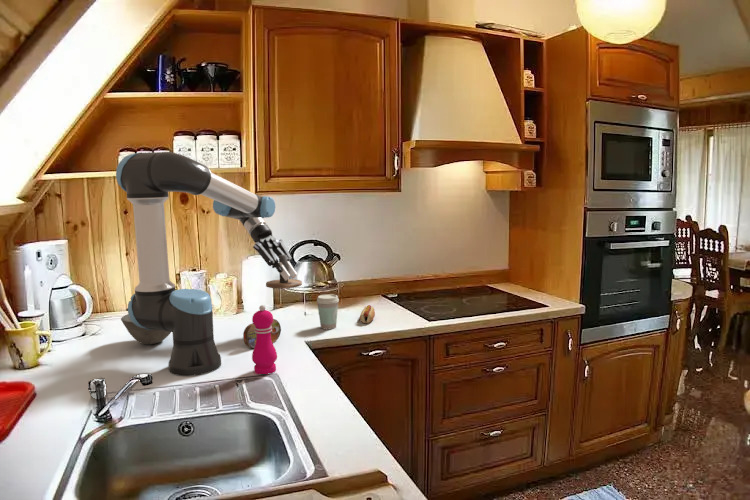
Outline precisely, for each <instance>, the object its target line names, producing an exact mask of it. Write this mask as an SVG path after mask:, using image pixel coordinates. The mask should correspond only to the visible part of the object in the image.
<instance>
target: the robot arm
mask: <svg viewBox="0 0 750 500" xmlns="http://www.w3.org/2000/svg"><path fill="white" fill-rule="evenodd" d="M115 177H116V178H115V179H116V182H117V184H118V186H120V188H121V189H122V190H123V191H124V192H125V193H126V194H125V195H126V200H127V201H129V202H130V204H132V208H133V209H132V210H133V218H134V220H133V221H134V231H135V243H136V245H135V246H136V257H137V268H138V279H139V281H138V284H137V286H135V287H134V293H133V294H132V296H131V297H130V300H129V301H128V303H127V314H129V317H130V319H131V321H132V322H133V323H134V324H135V325H136V326H138V327H141V328H145V329H147V330H159V331H167V332H171V333H172V342H173V345H172V348H171V353H170V359H169V360H168V372H169V373H170V374H172V375H175V376H180V377H181V376H183V377H185V376H188V377H190V376H198V375H204V374H207V373H210V372H214V371H216V370H217V369H219V368H220V367H221V366H222V357H221V354H220V353H219V351H218V348H217V345H216V342H215V339H214V336H215V335H214V317H213V315H214V314H213V303H212V298H211V295H210V294H209V293H208V292H207V291H205V290H202V289H197V288H191V289H189V288H182V289H181V288H180V289H176V285H175V284H174V282H172V281H171V280H170V279H171V278H170V268H169V266H170V265H169V257H168V256H169V254H168V243H167V229H166V215H165V202H166V201H167V200H168V199H170V198H169V197H170V196H169V193H172V192H173V193H174V192H177V193H178V192H179V193H186V194H191V195H193V196H199V195H202V196H203V197H206V198H208V199H211V200H213V201H212V209H213V212H214V213H215V214H217V215H219V216H221V217H227V218H231V219H234V220H238V221H239V222H240V223H241V225H242V226H243V228H245V230H246V231H247V233H248V235H250V237H251V239H252V240H253V242H254V243H255V244H254V245H253V247H252V248H253V249H254V250H255V251H256V252H257V253H258V254H259V255H260V257H261V258H262V259H263V260H264V262H265V263H266V264H267V266H269V267H272V269H275V270H276V271H277V272H278V273H279V275H280V274H281V275H282V277H283V278H284V279H285V281H286V280H287V279H295V278H296V277H297V276H298V272H297V271H296V270H295V268H294V265H293V264H292V263H291V260H292V259H293V257H292V256H291V254H290V252H289V251H288V249H287V247H286V246H285V244H284V241H283V239H281V238H280V239H276V238H275V236H273V231H272V229H271V228H270V227H269V225H268V224H267V222H266V221H265V220H264V219H265V218H266V219H267V218H271V217H273V216H274V214H275V212H276V203H275V202H276V201H275V199H274V198H273V197H271V196H268V195H267V196H266V195H263V196H260V195H258V194H256V193H253V192H251V191H250V190H247V189H245V188H243V187H242V186H239V185H238V184H235V183H234V182H232V181H229V180H228V179H225V178H223V177H221V176H219V175H217V174H215V173H213V172H211V169H210V168H209V167H208V166H207V165H205V164H203V163H201V162H199V161H196V159H192V158H191V157H188V156H185V155H182V154H179V153H175V152H171V151H162V152H161V151H158V152H136V153H130V154H127V155H126V156H123V158H122V159H121V160H120V161H119V162H118V165H117V166H116V171H115ZM279 255H287V264H288V271H287V270H286V269H285V267H284V266H283V264H282V263H281V262H279Z"/></svg>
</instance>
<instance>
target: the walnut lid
mask: <svg viewBox="0 0 750 500" xmlns="http://www.w3.org/2000/svg"><path fill="white" fill-rule="evenodd" d="M278 261H279V262H281V263H282V264H283V266H284V267H285V269H286V270H287V271H288V264H287V255H279V258H278ZM279 262H278V263H279ZM302 285H303V282H302V280H300V279H295V278H294V279H292V278H288V279H287V280H286V281H285V279H284V278H283V277H282V275H281V274H280V273H279V279H273V280H269V281H266V282H265V287H266V288H269V289H279V290H280V289H291V288H292V289H294V288H298V287H301V286H302Z"/></svg>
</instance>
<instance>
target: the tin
mask: <svg viewBox="0 0 750 500" xmlns="http://www.w3.org/2000/svg"><path fill="white" fill-rule="evenodd" d="M271 326H272V331H271V340H272V343H273V344H274V343H275V342H277V341H278V339H279V338H280V337H281V330H282V328H281V324H280V321H278V320H277V319H275V318H273V322H272V324H271ZM255 327H256V326H255V325H254V324H253V322H252V323H250V324H248V325H247V326H246V327H245V329H244V330H243V333H242V335H243V336H242V338H243V339H242V340H243V343H244V345H245V346H246V347H248V348H251V349H254V347H255V345H256V338H257V336H256V333H255Z"/></svg>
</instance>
